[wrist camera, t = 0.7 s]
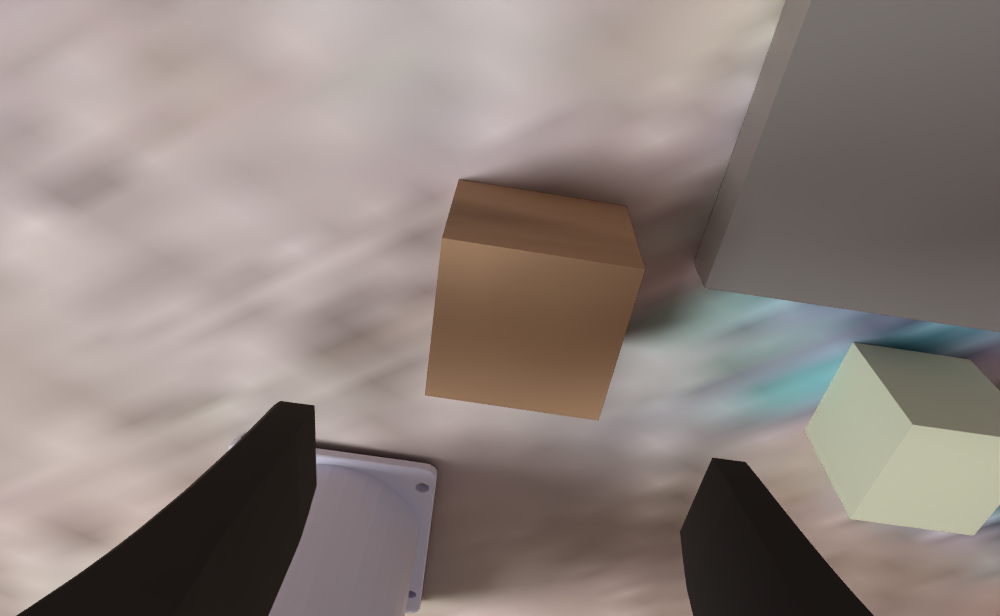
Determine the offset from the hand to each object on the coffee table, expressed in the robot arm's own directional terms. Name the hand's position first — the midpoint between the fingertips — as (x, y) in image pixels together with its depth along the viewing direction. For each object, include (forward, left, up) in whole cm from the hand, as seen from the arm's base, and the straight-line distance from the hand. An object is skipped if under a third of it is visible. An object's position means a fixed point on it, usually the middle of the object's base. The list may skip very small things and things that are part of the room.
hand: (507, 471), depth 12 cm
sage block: (-4, -13, -10) cm, 17 cm away
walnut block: (-1, 0, -10) cm, 10 cm away
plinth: (+5, -10, -9) cm, 14 cm away
